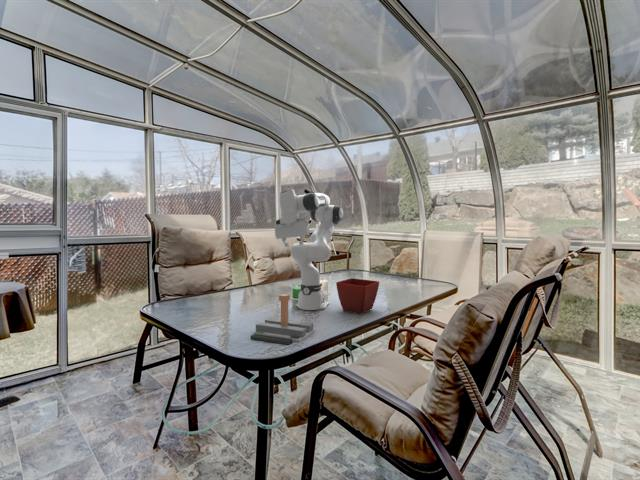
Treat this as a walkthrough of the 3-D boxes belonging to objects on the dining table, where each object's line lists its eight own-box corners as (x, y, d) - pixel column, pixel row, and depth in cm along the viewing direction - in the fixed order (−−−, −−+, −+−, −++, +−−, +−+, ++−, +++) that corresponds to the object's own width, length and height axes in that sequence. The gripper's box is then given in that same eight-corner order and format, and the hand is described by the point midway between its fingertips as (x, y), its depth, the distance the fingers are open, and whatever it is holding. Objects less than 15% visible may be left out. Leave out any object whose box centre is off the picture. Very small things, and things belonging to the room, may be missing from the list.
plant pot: (379, 309, 205) (380, 281, 204) (365, 316, 189) (365, 286, 188) (351, 304, 215) (351, 277, 214) (335, 311, 200) (335, 282, 199)
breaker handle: (283, 327, 165) (283, 293, 164) (290, 328, 163) (289, 294, 162) (279, 330, 161) (278, 295, 160) (285, 331, 159) (285, 296, 158)
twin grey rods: (254, 336, 156) (254, 332, 156) (293, 342, 149) (293, 338, 149) (249, 339, 153) (249, 335, 153) (289, 345, 145) (289, 341, 145)
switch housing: (271, 324, 174) (271, 316, 174) (315, 330, 165) (315, 322, 165) (253, 334, 159) (253, 325, 159) (300, 341, 150) (300, 332, 150)
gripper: (310, 216, 180) (313, 243, 181) (278, 222, 191) (282, 246, 191) (303, 217, 175) (307, 244, 175) (271, 222, 185) (275, 248, 185)
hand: (294, 245), depth 183 cm, fingers open, 8 cm apart
